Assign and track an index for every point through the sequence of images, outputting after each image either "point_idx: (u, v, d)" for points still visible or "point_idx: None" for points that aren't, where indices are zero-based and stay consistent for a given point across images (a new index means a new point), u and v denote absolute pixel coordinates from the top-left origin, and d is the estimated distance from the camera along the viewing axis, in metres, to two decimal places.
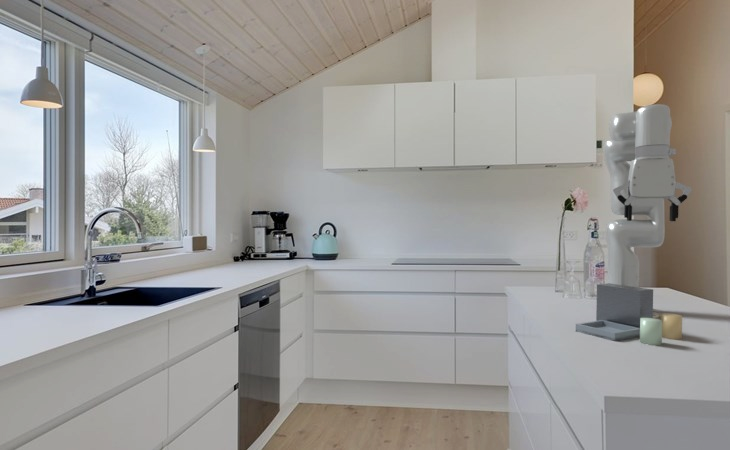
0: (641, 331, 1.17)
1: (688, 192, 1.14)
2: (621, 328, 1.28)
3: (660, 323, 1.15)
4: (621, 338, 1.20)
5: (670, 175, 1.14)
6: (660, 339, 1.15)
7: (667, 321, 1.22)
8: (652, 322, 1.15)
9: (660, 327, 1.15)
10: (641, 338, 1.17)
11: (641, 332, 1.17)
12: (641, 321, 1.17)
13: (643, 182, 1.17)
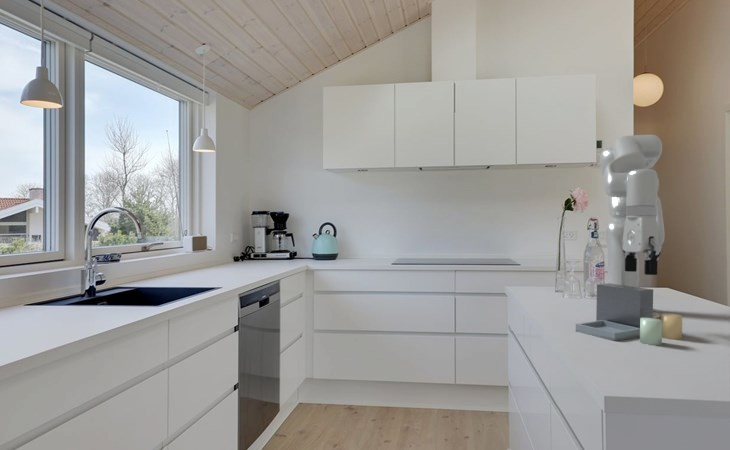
0: (641, 331, 1.17)
1: None
2: (621, 328, 1.28)
3: (660, 323, 1.15)
4: (621, 338, 1.20)
5: None
6: (660, 339, 1.15)
7: (667, 321, 1.22)
8: (652, 322, 1.15)
9: (660, 327, 1.15)
10: (641, 338, 1.17)
11: (641, 332, 1.17)
12: (641, 321, 1.17)
13: None
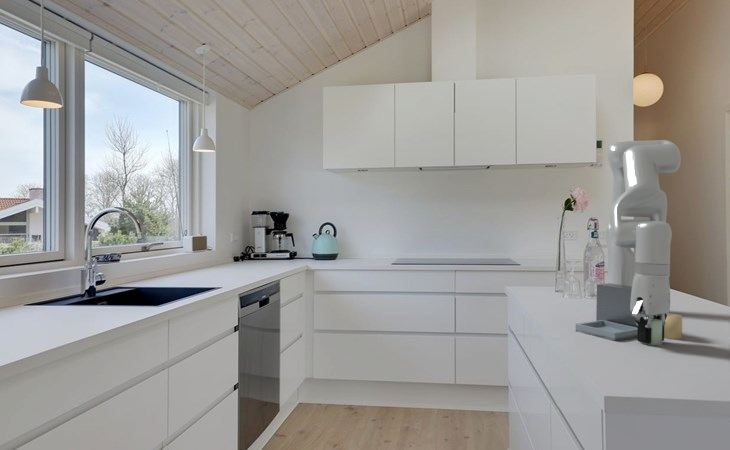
0: None
1: (667, 313, 1.20)
2: (621, 328, 1.28)
3: (660, 323, 1.15)
4: (621, 338, 1.20)
5: (668, 292, 1.17)
6: (660, 339, 1.15)
7: (667, 321, 1.22)
8: (652, 322, 1.15)
9: (660, 327, 1.15)
10: None
11: None
12: None
13: (655, 300, 1.14)
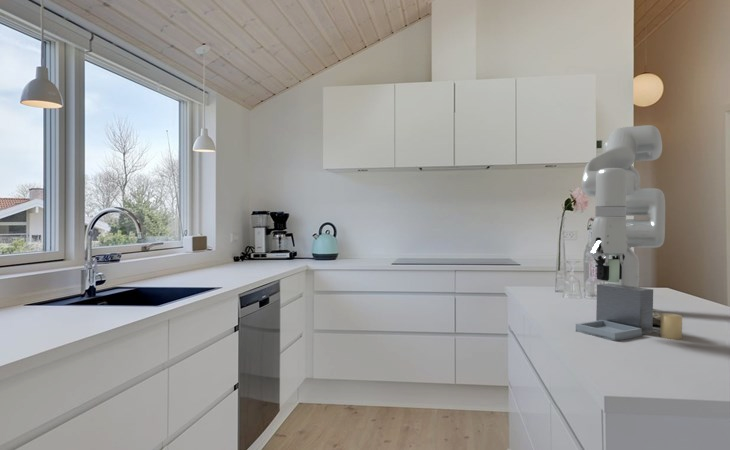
0: None
1: (625, 254, 1.29)
2: (621, 328, 1.28)
3: (617, 261, 1.24)
4: (621, 338, 1.20)
5: (626, 233, 1.26)
6: (617, 276, 1.24)
7: (667, 321, 1.22)
8: (610, 260, 1.24)
9: (617, 265, 1.24)
10: None
11: None
12: None
13: (612, 240, 1.23)
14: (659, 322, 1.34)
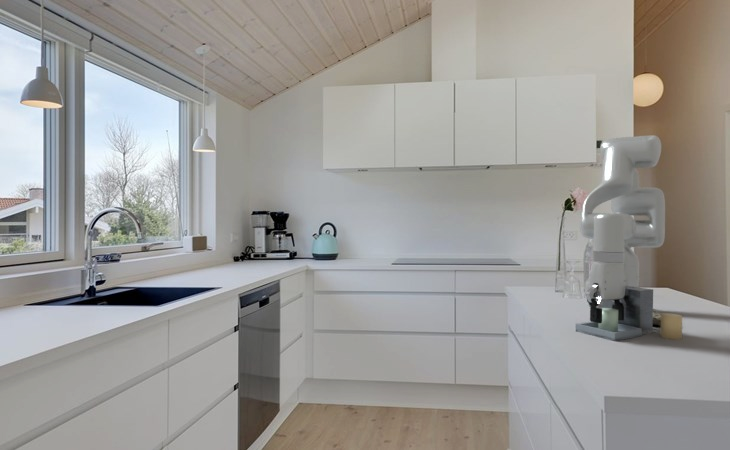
0: None
1: None
2: (621, 328, 1.28)
3: (616, 312, 1.24)
4: (621, 338, 1.20)
5: (623, 279, 1.26)
6: (616, 327, 1.24)
7: (667, 321, 1.22)
8: (608, 311, 1.24)
9: (616, 316, 1.24)
10: (599, 327, 1.27)
11: None
12: None
13: (610, 286, 1.23)
14: (660, 322, 1.34)
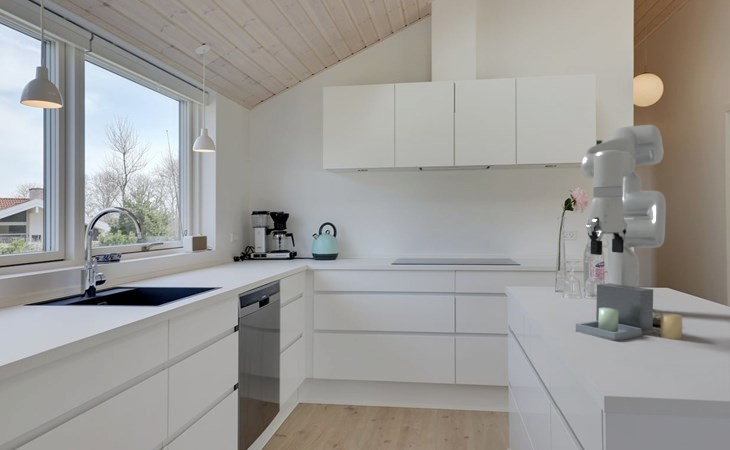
0: (599, 320, 1.27)
1: (626, 227, 1.35)
2: (621, 328, 1.28)
3: (616, 313, 1.24)
4: (621, 338, 1.20)
5: (622, 213, 1.31)
6: (616, 327, 1.24)
7: (667, 321, 1.22)
8: (609, 312, 1.24)
9: (616, 316, 1.24)
10: (599, 326, 1.27)
11: (599, 321, 1.27)
12: (599, 311, 1.27)
13: (610, 220, 1.29)
14: (660, 322, 1.34)
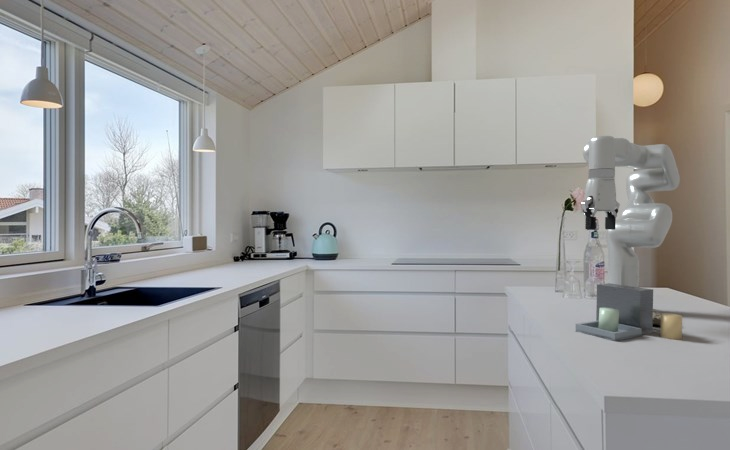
0: (599, 319, 1.27)
1: (618, 207, 1.49)
2: (621, 328, 1.28)
3: (616, 312, 1.24)
4: (621, 338, 1.20)
5: (614, 193, 1.45)
6: (616, 327, 1.24)
7: (667, 321, 1.22)
8: (609, 311, 1.24)
9: (616, 316, 1.24)
10: (599, 326, 1.27)
11: (599, 320, 1.27)
12: (600, 310, 1.27)
13: (603, 198, 1.43)
14: None
